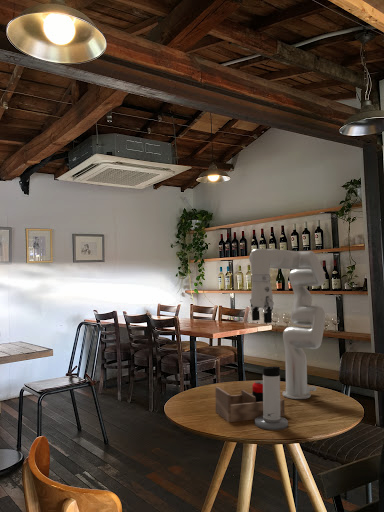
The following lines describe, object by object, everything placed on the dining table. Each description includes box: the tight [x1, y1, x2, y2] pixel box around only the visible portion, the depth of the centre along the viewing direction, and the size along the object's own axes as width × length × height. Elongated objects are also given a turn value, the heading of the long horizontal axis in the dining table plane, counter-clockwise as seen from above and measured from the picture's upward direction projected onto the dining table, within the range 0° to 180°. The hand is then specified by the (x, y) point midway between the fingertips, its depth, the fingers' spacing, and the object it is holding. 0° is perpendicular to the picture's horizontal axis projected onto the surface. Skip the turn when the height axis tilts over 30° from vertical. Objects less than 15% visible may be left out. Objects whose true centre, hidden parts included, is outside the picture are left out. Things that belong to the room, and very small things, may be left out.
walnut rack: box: [215, 386, 286, 423], centre depth 172 cm, size 24×13×10 cm, turn 108°
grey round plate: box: [254, 415, 289, 431], centre depth 159 cm, size 12×12×2 cm
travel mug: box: [262, 366, 282, 423], centre depth 160 cm, size 6×7×20 cm
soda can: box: [251, 380, 263, 402], centre depth 174 cm, size 8×8×12 cm
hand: (261, 321), depth 175 cm, fingers open, 9 cm apart
